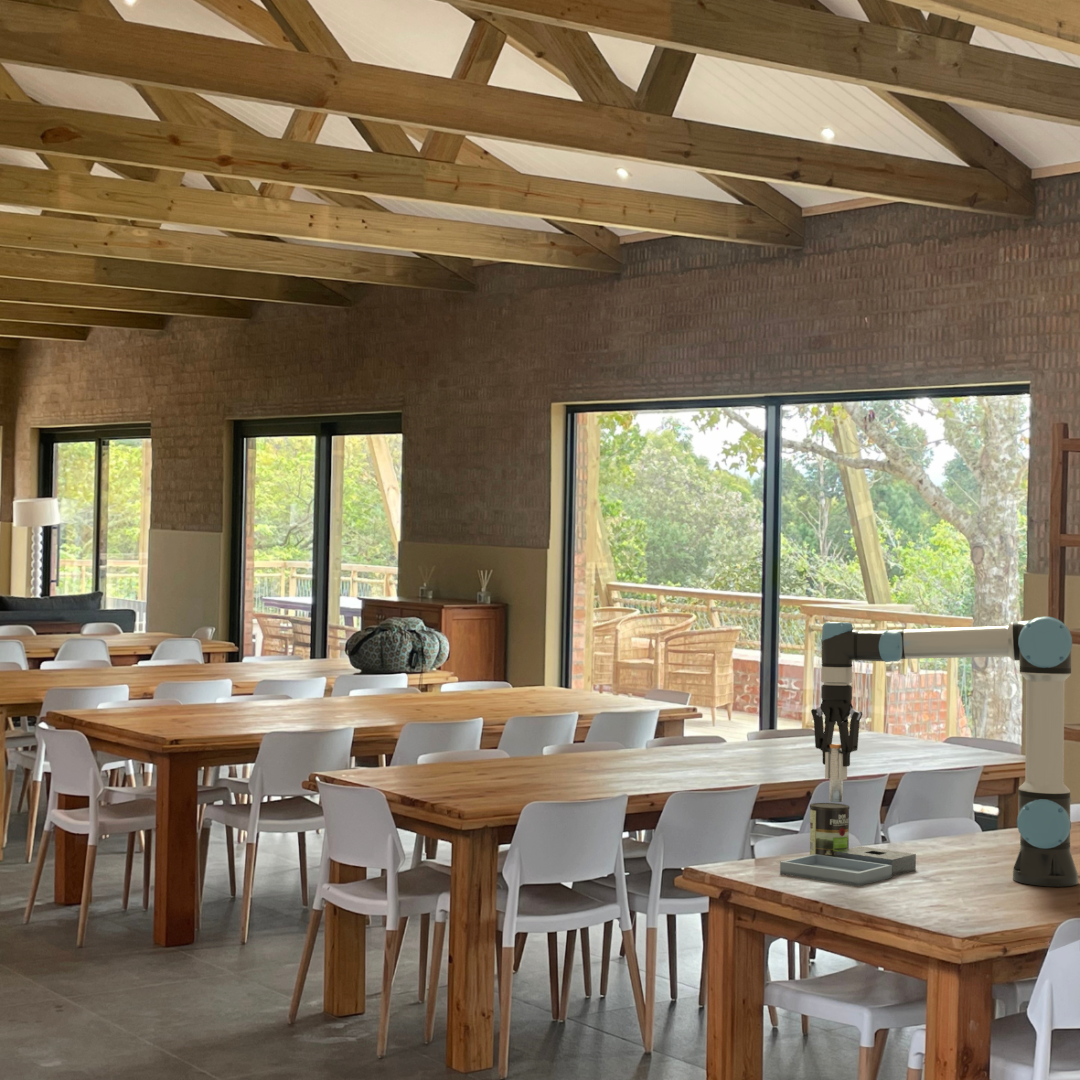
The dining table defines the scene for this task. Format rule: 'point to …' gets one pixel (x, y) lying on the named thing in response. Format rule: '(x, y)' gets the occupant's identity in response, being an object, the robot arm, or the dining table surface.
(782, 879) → the dining table surface
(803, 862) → the parts tray
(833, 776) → the orange capped tube
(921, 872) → the dining table surface
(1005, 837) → the dining table surface
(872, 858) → the block
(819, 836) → the coffee can
